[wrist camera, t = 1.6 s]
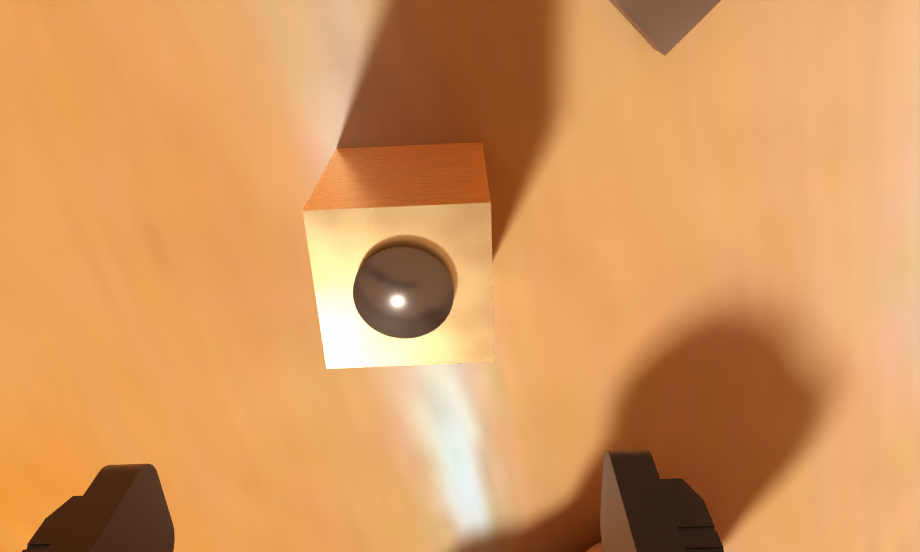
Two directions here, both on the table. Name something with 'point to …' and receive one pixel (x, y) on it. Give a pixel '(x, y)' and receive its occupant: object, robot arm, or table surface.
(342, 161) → the tan knob block
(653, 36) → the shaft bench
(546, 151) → the table surface
